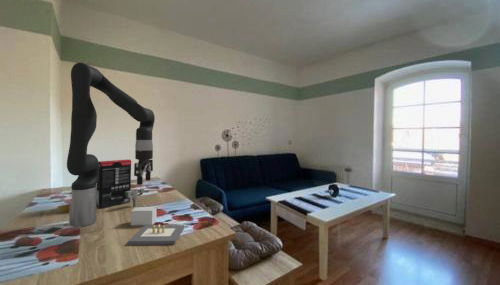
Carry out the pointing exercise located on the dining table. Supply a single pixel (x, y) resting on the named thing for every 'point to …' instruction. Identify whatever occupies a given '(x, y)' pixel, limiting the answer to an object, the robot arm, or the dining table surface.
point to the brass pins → (158, 229)
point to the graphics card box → (113, 183)
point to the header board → (157, 235)
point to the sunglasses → (64, 208)
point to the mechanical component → (134, 195)
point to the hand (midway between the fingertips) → (144, 182)
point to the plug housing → (143, 215)
